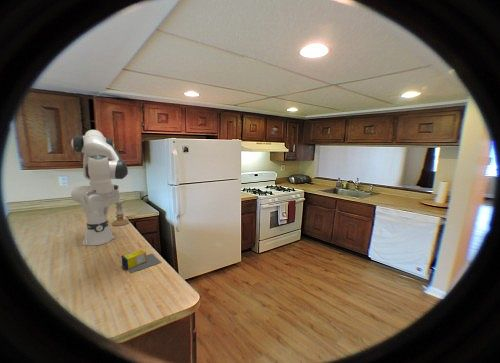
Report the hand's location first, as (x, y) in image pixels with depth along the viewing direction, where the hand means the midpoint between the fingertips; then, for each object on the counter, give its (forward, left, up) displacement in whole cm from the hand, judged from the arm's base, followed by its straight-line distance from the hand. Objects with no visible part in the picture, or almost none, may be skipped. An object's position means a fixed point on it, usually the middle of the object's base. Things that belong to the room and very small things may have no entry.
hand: (104, 216), depth 111 cm
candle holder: (-79, +24, -31) cm, 88 cm away
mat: (0, +16, -31) cm, 35 cm away
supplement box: (0, +7, -28) cm, 29 cm away
